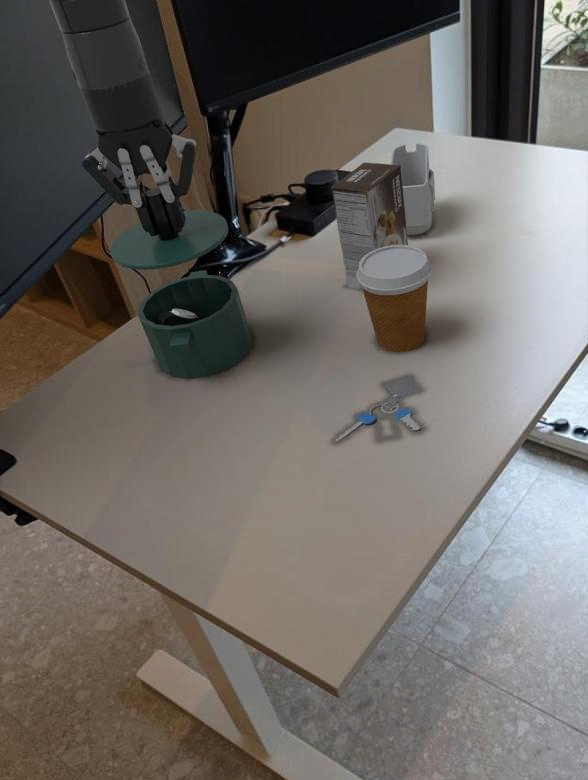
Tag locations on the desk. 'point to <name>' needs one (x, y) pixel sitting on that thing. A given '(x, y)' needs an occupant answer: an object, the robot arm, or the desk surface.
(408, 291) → the disposable coffee cup
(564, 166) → the desk surface
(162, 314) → the watch
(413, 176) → the cable organizer
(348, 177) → the coffee box
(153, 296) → the pot
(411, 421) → the key chain
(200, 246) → the lid
